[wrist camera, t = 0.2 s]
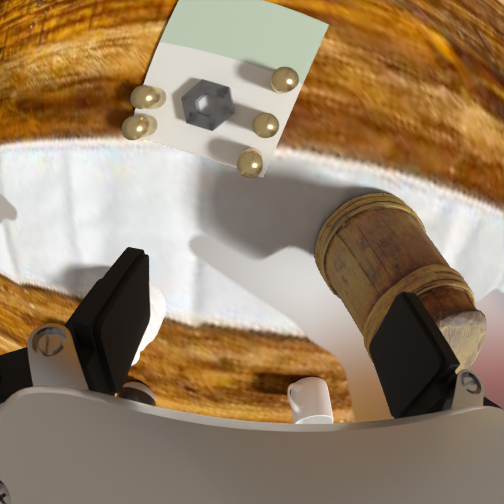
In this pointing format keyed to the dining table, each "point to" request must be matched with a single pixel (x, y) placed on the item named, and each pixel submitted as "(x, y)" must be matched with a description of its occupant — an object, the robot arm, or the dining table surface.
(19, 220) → the dining table surface
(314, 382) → the mug
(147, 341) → the honey pot
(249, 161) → the spacers
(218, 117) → the nut
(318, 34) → the mat
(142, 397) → the penguin figurine
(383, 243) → the tankard
